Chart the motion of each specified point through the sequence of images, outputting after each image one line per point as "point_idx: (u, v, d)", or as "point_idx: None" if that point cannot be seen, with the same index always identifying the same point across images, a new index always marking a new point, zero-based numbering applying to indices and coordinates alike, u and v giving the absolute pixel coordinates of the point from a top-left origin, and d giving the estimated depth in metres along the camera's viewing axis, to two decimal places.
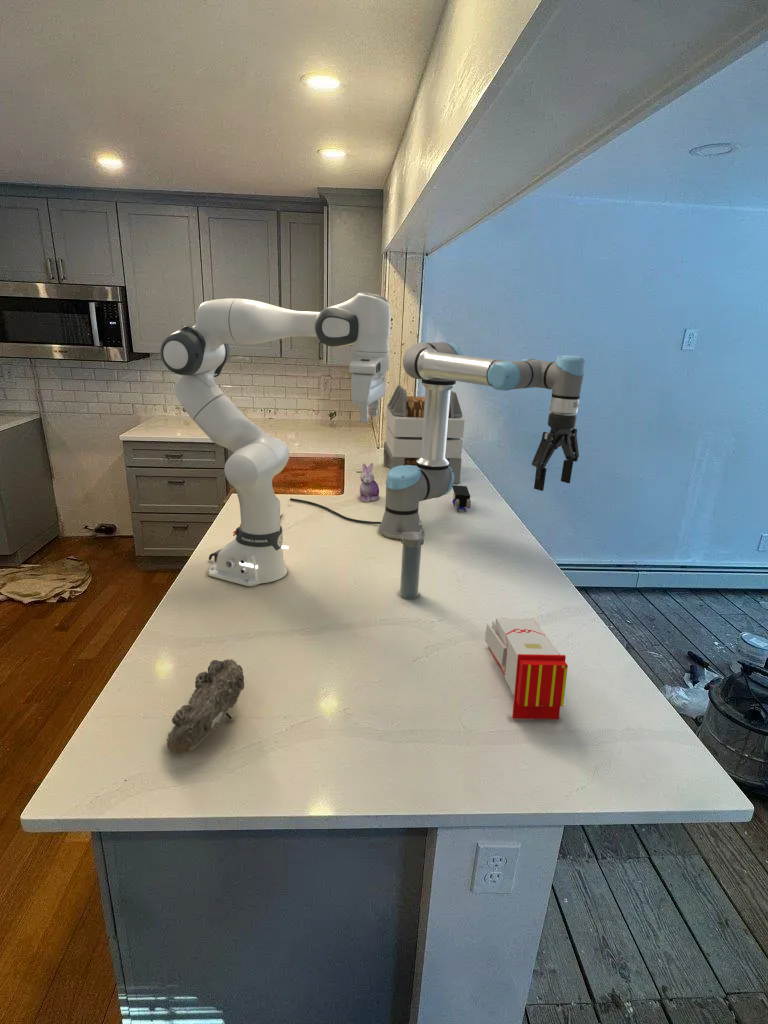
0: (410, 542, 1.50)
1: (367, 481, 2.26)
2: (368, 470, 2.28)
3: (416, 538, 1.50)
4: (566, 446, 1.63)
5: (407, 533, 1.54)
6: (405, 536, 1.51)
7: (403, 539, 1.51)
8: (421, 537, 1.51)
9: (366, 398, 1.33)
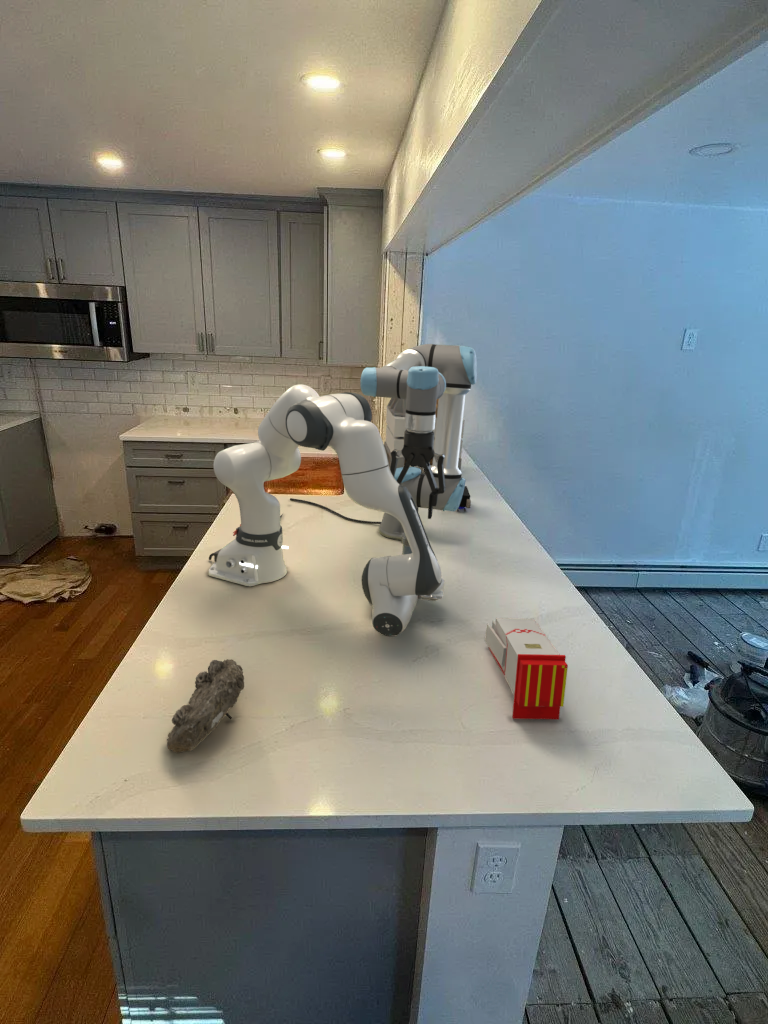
0: None
1: None
2: None
3: None
4: (408, 468, 1.47)
5: None
6: (405, 536, 1.51)
7: (403, 539, 1.51)
8: None
9: None
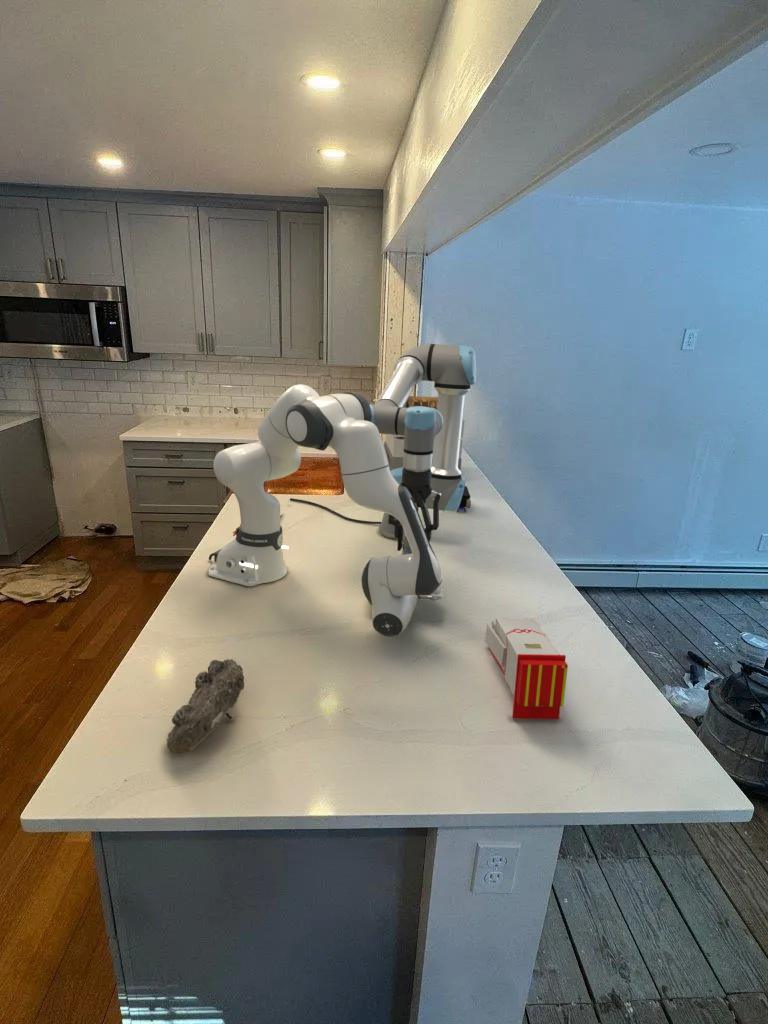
0: None
1: None
2: None
3: None
4: None
5: None
6: (405, 536, 1.51)
7: (403, 539, 1.51)
8: None
9: None
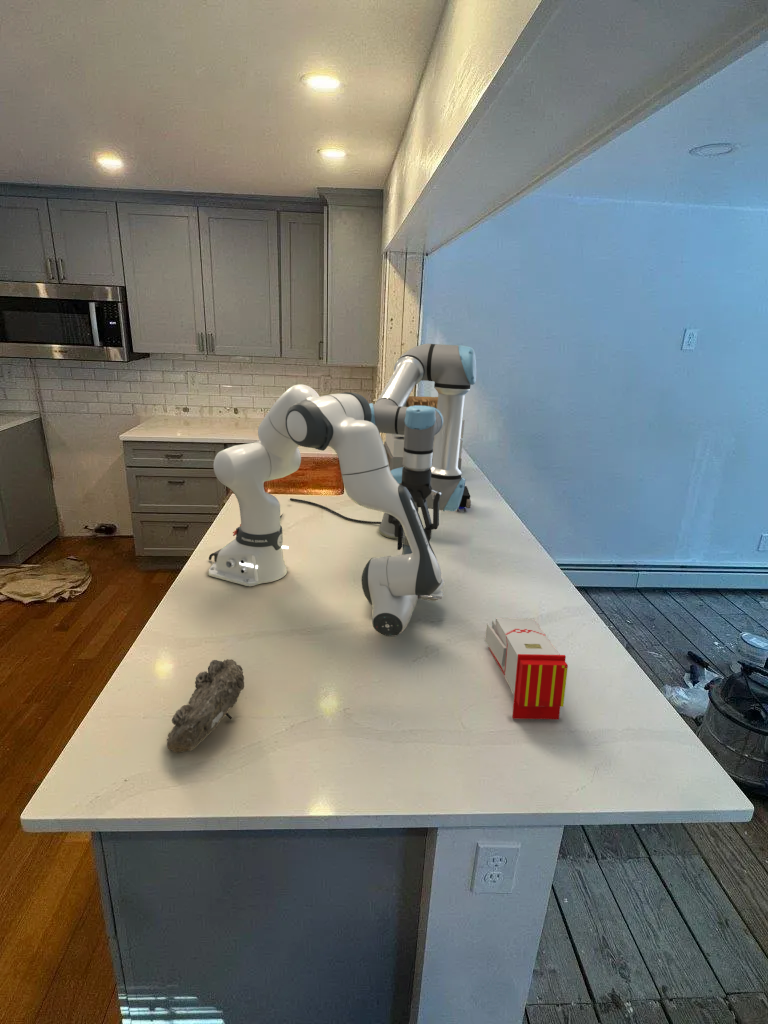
0: None
1: None
2: None
3: None
4: None
5: None
6: None
7: None
8: None
9: None
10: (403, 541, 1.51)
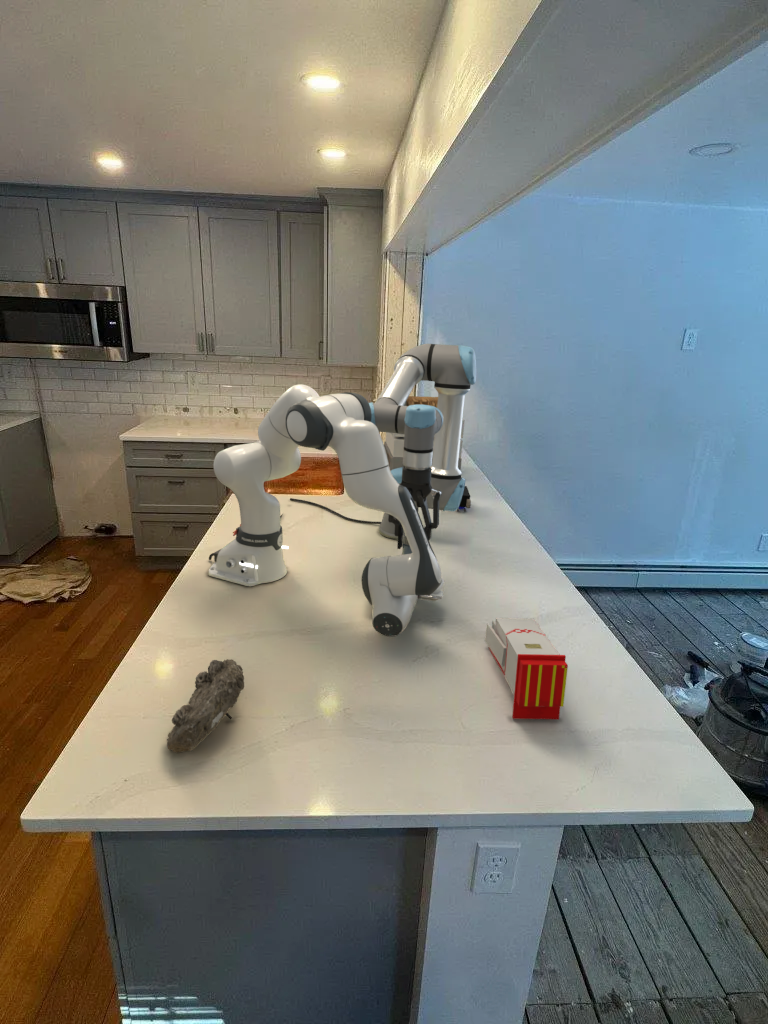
0: (401, 535, 1.53)
1: None
2: None
3: (405, 535, 1.51)
4: None
5: None
6: None
7: None
8: None
9: None
10: None
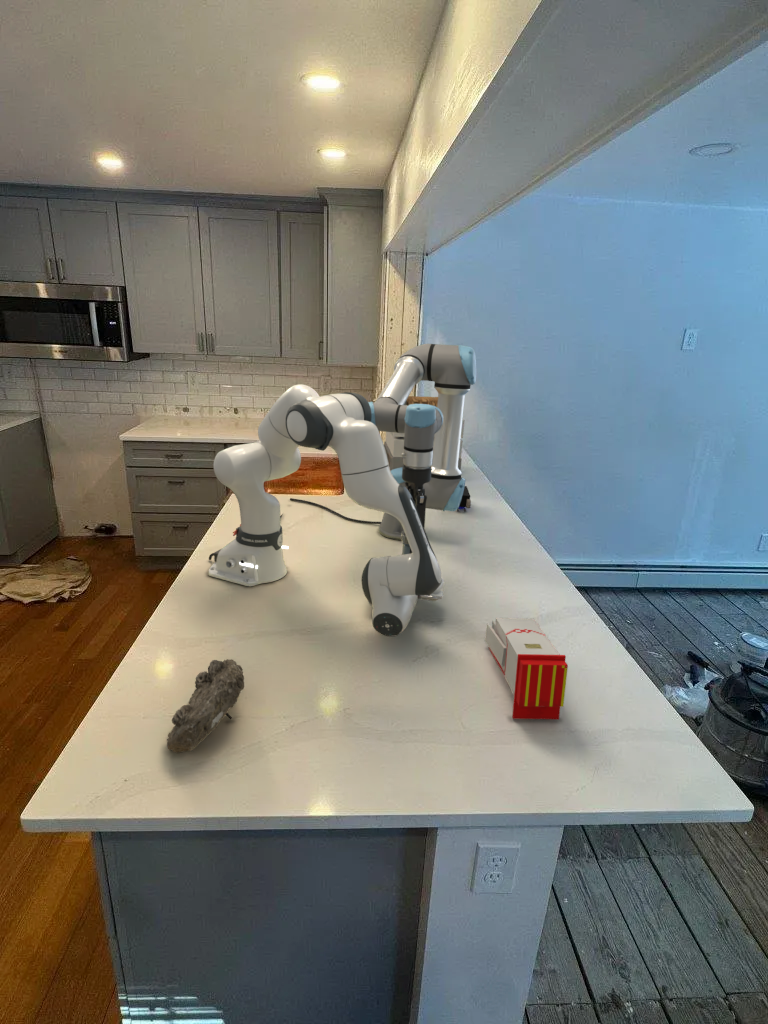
0: None
1: None
2: None
3: None
4: None
5: None
6: None
7: None
8: None
9: None
10: None
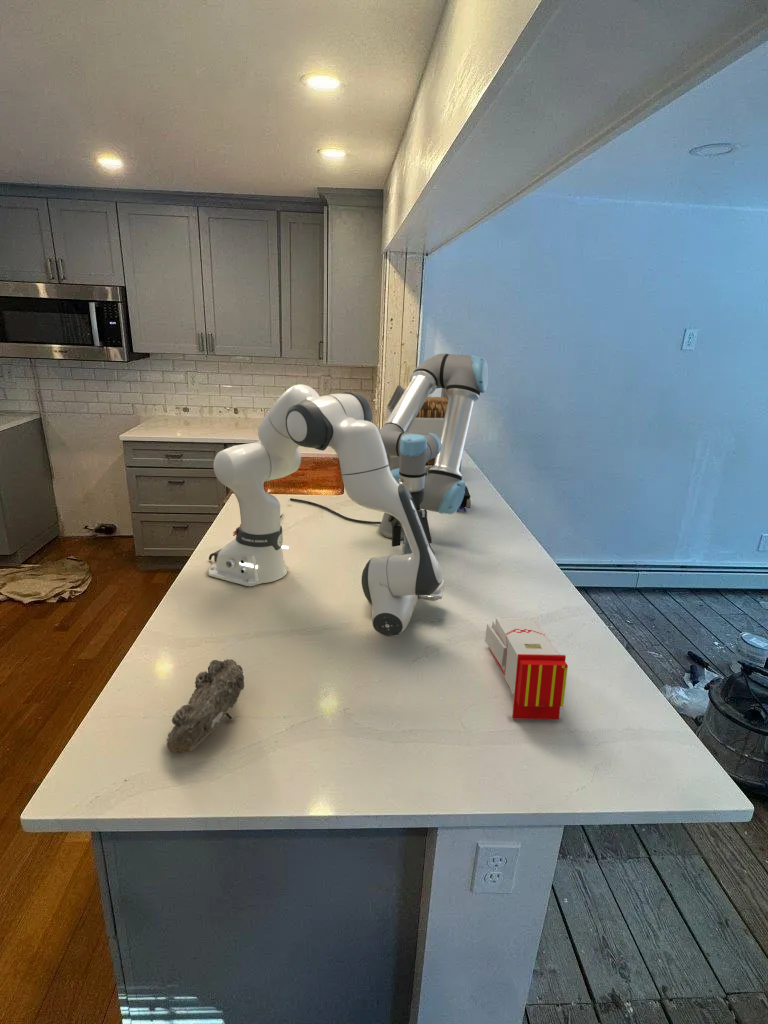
0: None
1: None
2: None
3: None
4: None
5: None
6: None
7: None
8: None
9: None
10: None
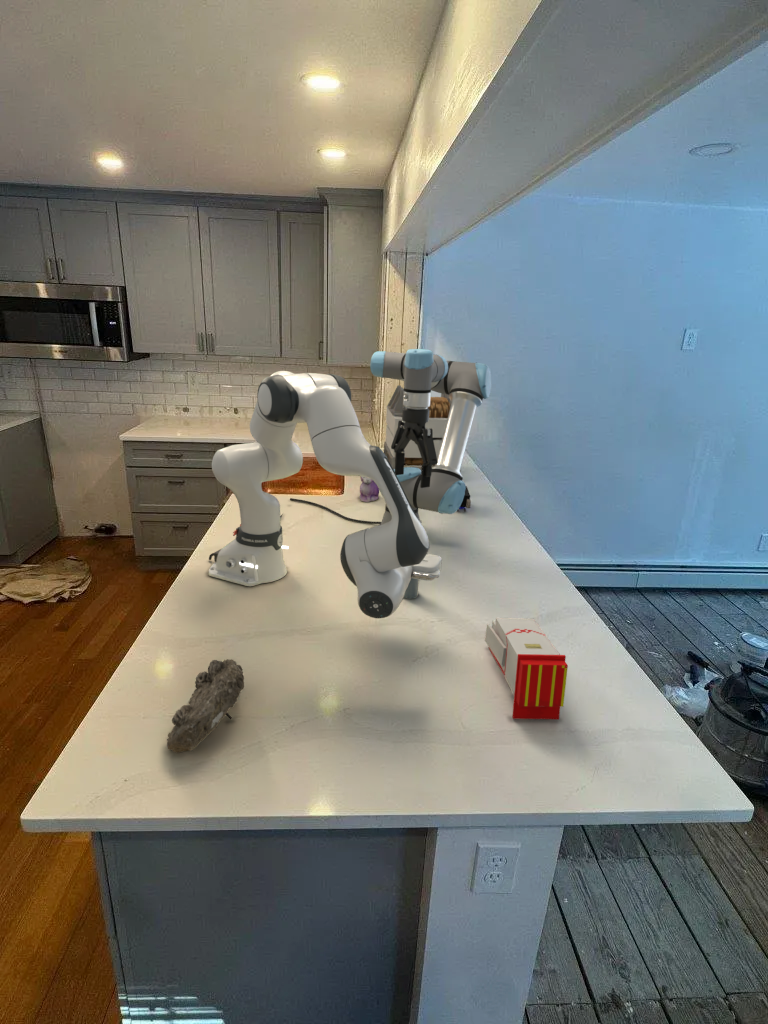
0: None
1: (367, 481, 2.26)
2: None
3: None
4: None
5: None
6: None
7: None
8: None
9: None
10: None
